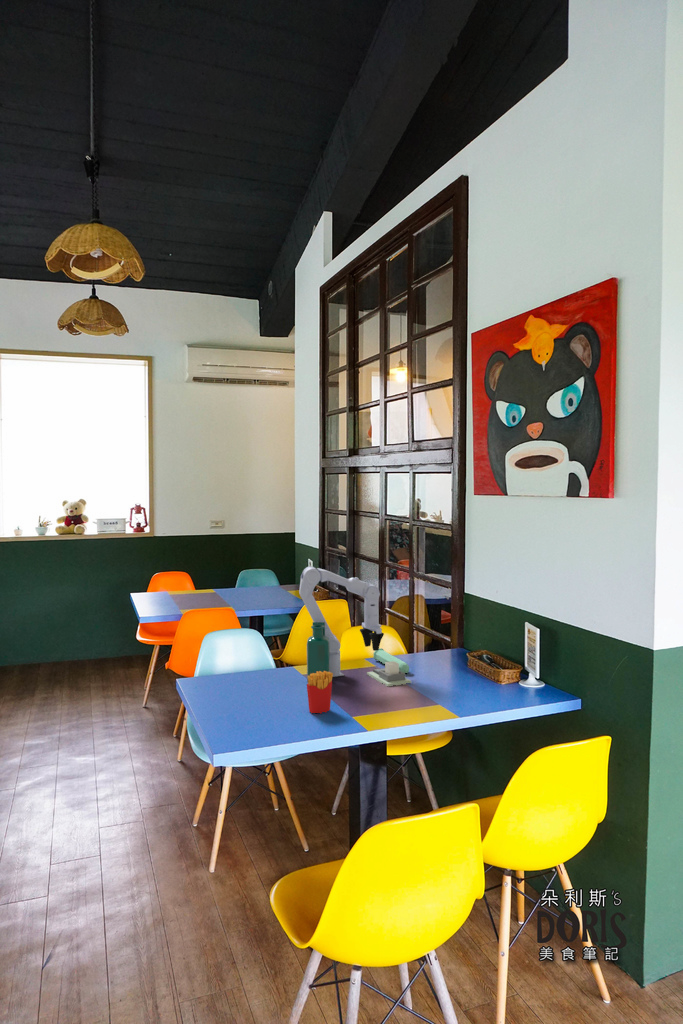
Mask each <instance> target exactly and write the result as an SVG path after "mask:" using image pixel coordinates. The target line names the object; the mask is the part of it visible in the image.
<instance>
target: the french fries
mask: <svg viewBox="0 0 683 1024" xmlns="http://www.w3.org/2000/svg"><path fill="white" fill-rule="evenodd" d="M333 678H334V677H333V673H330V672H327V671H324V672H321V671H319V672H318V671H316V673H312V674H310V676H308V683H307V684H306V691H307V700H308V709H309V710H308V711H309V713H310V712H311V713H310V714H312V713H320V714H323V713H322V712H325V713H328V712H327V711H329V710H330V711H331V702H332V690H333ZM330 711H329V712H330Z"/></svg>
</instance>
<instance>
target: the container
mask: <svg viewBox="0 0 683 1024" xmlns="http://www.w3.org/2000/svg"><path fill="white" fill-rule="evenodd" d="M372 653H373V654H372V655H373V659H374V660H375V661H376V660H378V661H377V662H379V661H380V663H381V662H382V663H381V664H383V665H384V664H385V662H392V661H395V662H397V663H399V670H400V671H401V672H403V673H407V674H408V673H409V672H410V666H409V664H408V663H407V662H405V661H403V660H402V659H400V658H398V657H396V656H394V655H392V654H390V653H389V652H387V651H386V650H384V649H383V648H380V647H379V650H376V651H373V652H372Z"/></svg>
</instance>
